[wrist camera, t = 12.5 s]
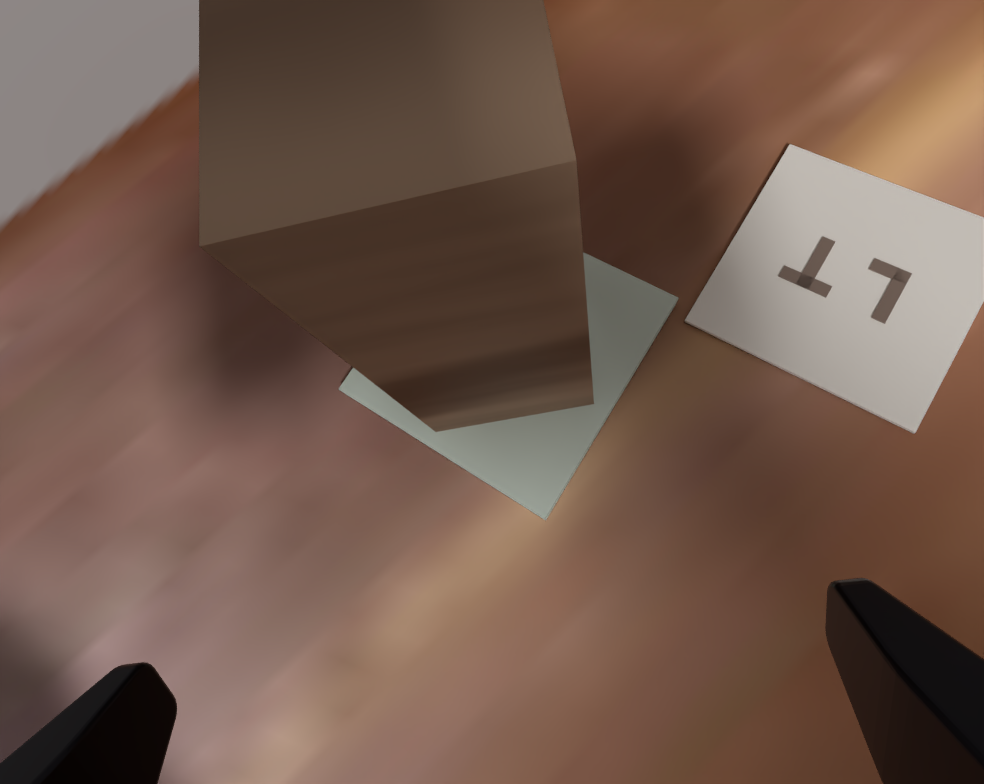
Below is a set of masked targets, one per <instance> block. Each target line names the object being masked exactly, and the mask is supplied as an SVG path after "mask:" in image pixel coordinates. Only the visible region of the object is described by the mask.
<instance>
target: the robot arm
mask: <svg viewBox="0 0 984 784" xmlns="http://www.w3.org/2000/svg"><path fill="white" fill-rule="evenodd" d="M826 636H827V641H828V644H829V648H830V650H831V653H832V656H833V658H834V661H835V663H836V666H837V668H838V671H839V673H840V676H841V679H842V681H843V684H844V686H845V689H846V691H847V694H848V697H849V699H850V702H851V704H852V707H853V709H854V712H855V714H856V717H857V720H858V722H859V725H860V727H861V730H862V732H863V735H864V738H865V740H866V743H867V745H868V748H869V750H870V753H871V755H872V758H873V760H874V763H875V765H876V768H877V770H878V773H879V775H880V777H881V780H882V782H883V784H984V659H983V658H981V657H980V656H978V655H977V654H976V653H974V652H973V651H971V650H970V649H968V648H967V647H966V646H964V645H963V644H961V643H960V642H958V641H957V640H955V639H954V638H953V637H951V636H950V635H948V634H947V633H945V632H944V631H943V630H941V629H940V628H938V627H937V626H935V625H934V624H933V623H931V622H930V621H928V620H927V619H925V618H924V617H923V616H921V615H920V614H918V613H917V612H915V611H914V610H913V609H911V608H910V607H908V606H907V605H905V604H904V603H903V602H901V601H900V600H898V599H897V598H895V597H894V596H892V595H891V594H890V593H888V592H887V591H885V590H884V589H882V588H881V587H880V586H878V585H877V584H875V583H874V582H872V581H870V580H868V579H865V578H855V579H847V580H838V581H833V582H831V583H830V585H829V586H828V591H827V608H826ZM176 715H177V703H176V699H175V697H174V695H173V694H172V692H171V691H170V690H169V688H168V687H167V685H166V684H165V682H164V681H163V680H162V678H161V677H160V675H159V674H158V672H157V671H156V670H155V668H154V667H153V666H152V665H151V664H148V663H144V662H142V663H134V664H125V665H121V666H118V667H116V668H114V669H113V670H112V671H110V672H109V673H108V674H107V675H106V676H104V677H103V678H102V679H101V680H100V681H98V682H97V683H96V684H95V685H94V686H92V687H91V688H90V689H89V690H88V691H86V692H85V693H84V694H83V695H82V696H80V697H79V698H78V699H77V700H76V701H74V702H73V703H72V704H71V705H70V706H68V707H67V708H66V709H65V710H64V711H62V712H61V713H60V714H59V715H58V716H56V717H55V718H54V719H53V720H52V721H50V722H49V723H48V724H47V725H46V726H44V727H43V728H42V729H41V730H40V731H38V732H37V733H36V734H35V735H34V736H32V737H31V738H30V739H29V740H28V741H26V742H25V743H24V744H23V745H22V746H21V747H19V748H18V749H17V750H16V751H15V752H13V753H12V754H11V755H10V756H9V757H7V758H6V759H5V760H4V761H3V762H1V763H0V784H157V783H158V780H159V776H160V773H161V769H162V766H163V762H164V758H165V755H166V751H167V748H168V744H169V741H170V737H171V733H172V730H173V726H174V723H175V719H176Z"/></svg>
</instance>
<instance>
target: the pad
mask: <svg viewBox="0 0 984 784" xmlns="http://www.w3.org/2000/svg"><path fill="white" fill-rule="evenodd" d="M583 257H584V271H585V285H586V299H587V313H588V327H589V341H590V355H591V369H592V383H593V397H594V404H591V405H586V406H580V407H574V408H569V409H563V410H558V411H552V412H546V413H541V414H535V415H529V416H524V417H518V418H512V419H507V420H501V421H495V422H490V423H484V424H479V425H473V426H467V427H462V428H456V429H450V430H445V431H439V432H435V431H434V430H432V429H431V428H430V427H429V426H427V425H426V424H425V423H423V422H422V421H421V420H420V419H418V418H417V417H416V416H415V415H413V414H412V413H411V412H409V411H408V410H407V409H406V408H404V407H403V406H402V405H401V404H399V403H398V402H397V401H395V400H394V399H393V398H392V397H390V396H389V395H388V394H387V393H385V392H384V391H383V390H381V389H380V388H379V387H378V386H376V385H375V384H374V383H373V382H371V381H370V380H369V379H367V378H366V377H365V376H364V375H362V374H361V373H360V372H359V371H357V370H356V369H355V368H352V370H351V371H350V373H349V374H348V376H347V377H346V379H345V380H344V382H343V383H342V385H341V386H340V388H339V390H340V391H342V392H343V393H345V394H346V395H348V396H350V397H351V398H353V399H354V400H356V401H357V402H359V403H361V404H362V405H364V406H365V407H367V408H369V409H370V410H372V411H373V412H375V413H376V414H378V415H380V416H381V417H383V418H384V419H386V420H388V421H389V422H391V423H392V424H394V425H395V426H397V427H399V428H400V429H402V430H403V431H405V432H407V433H408V434H410V435H411V436H413V437H414V438H416V439H418V440H419V441H421V442H422V443H424V444H426V445H427V446H429V447H430V448H432V449H433V450H435V451H437V452H438V453H440V454H441V455H443V456H445V457H446V458H448V459H449V460H451V461H452V462H454V463H456V464H457V465H459V466H460V467H462V468H464V469H465V470H467V471H468V472H470V473H471V474H473V475H475V476H476V477H478V478H479V479H481V480H483V481H484V482H486V483H487V484H489V485H490V486H492V487H494V488H495V489H497V490H498V491H500V492H502V493H503V494H505V495H506V496H508V497H509V498H511V499H513V500H514V501H516V502H517V503H519V504H521V505H522V506H524V507H525V508H527V509H528V510H530V511H532V512H533V513H535V514H536V515H538V516H540V517H541V518H543V519H544V520H547V518H548V516H549V515H550V513H551V511H552V510H553V508H554V506H555V505H556V503H557V501H558V500H559V498H560V496H561V495H562V493H563V491H564V490H565V488H566V486H567V485H568V483H569V481H570V480H571V478H572V476H573V475H574V473H575V471H576V470H577V468H578V466H579V465H580V463H581V461H582V460H583V458H584V456H585V455H586V453H587V451H588V450H589V448H590V446H591V445H592V443H593V441H594V440H595V438H596V436H597V435H598V433H599V431H600V430H601V428H602V426H603V425H604V423H605V421H606V420H607V418H608V416H609V415H610V413H611V411H612V410H613V408H614V406H615V405H616V403H617V401H618V400H619V398H620V396H621V395H622V393H623V391H624V390H625V388H626V386H627V385H628V383H629V381H630V380H631V378H632V376H633V375H634V373H635V371H636V370H637V368H638V366H639V365H640V363H641V361H642V360H643V358H644V356H645V355H646V353H647V352H648V350H649V348H650V347H651V345H652V343H653V342H654V340H655V338H656V337H657V335H658V333H659V332H660V330H661V328H662V327H663V325H664V323H665V322H666V320H667V318H668V317H669V315H670V313H671V312H672V310H673V308H674V307H675V305H676V303H677V302H678V297H676V296H674V295H672V294H670V293H668V292H666V291H663V290H661V289H659V288H657V287H655V286H653V285H651V284H649V283H647V282H645V281H643V280H640V279H638V278H636V277H634V276H632V275H630V274H628V273H626V272H624V271H622V270H620V269H617V268H615V267H613V266H611V265H609V264H607V263H605V262H603V261H601V260H599V259H596V258H594V257H592V256H590V255H588V254H586V253H584V252H583Z"/></svg>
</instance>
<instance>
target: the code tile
mask: <svg viewBox="0 0 984 784" xmlns="http://www.w3.org/2000/svg"><path fill="white" fill-rule="evenodd" d="M983 302H984V218H983V217H981V216H978V215H975V214H973V213H970V212H968V211H965V210H962V209H960V208H957V207H954V206H952V205H949V204H946V203H944V202H941V201H939V200H936V199H933V198H931V197H928V196H925V195H923V194H920V193H917V192H915V191H912V190H910V189H907V188H904V187H902V186H899V185H896V184H894V183H891V182H888V181H886V180H883V179H881V178H878V177H875V176H873V175H870V174H867V173H865V172H862V171H859V170H857V169H854V168H852V167H849V166H846V165H844V164H841V163H838V162H836V161H833V160H830V159H828V158H825V157H823V156H820V155H817V154H815V153H812V152H809V151H807V150H804V149H802V148H799V147H796V146H794V145H791V144H790V145H789V146H788V148H787V150H786V151H785V153H784V155H783V156H782V158H781V160H780V161H779V163H778V165H777V166H776V168H775V170H774V171H773V173H772V175H771V176H770V178H769V180H768V181H767V183H766V185H765V186H764V188H763V190H762V192H761V193H760V195H759V197H758V198H757V200H756V202H755V203H754V205H753V207H752V208H751V210H750V212H749V213H748V215H747V217H746V218H745V220H744V222H743V223H742V225H741V227H740V228H739V230H738V232H737V233H736V235H735V237H734V238H733V240H732V242H731V244H730V245H729V247H728V249H727V250H726V252H725V254H724V255H723V257H722V259H721V260H720V262H719V264H718V265H717V267H716V269H715V270H714V272H713V274H712V275H711V277H710V279H709V280H708V282H707V284H706V285H705V287H704V289H703V290H702V292H701V294H700V296H699V297H698V299H697V301H696V302H695V304H694V306H693V307H692V309H691V311H690V312H689V314H688V316H687V317H686V319H685V321H684V322H686V323H688V324H690V325H692V326H694V327H696V328H698V329H700V330H702V331H704V332H706V333H708V334H711V335H713V336H715V337H717V338H719V339H721V340H723V341H725V342H727V343H729V344H731V345H733V346H735V347H737V348H739V349H741V350H743V351H745V352H747V353H749V354H751V355H754V356H756V357H758V358H760V359H762V360H764V361H766V362H768V363H770V364H772V365H774V366H776V367H778V368H780V369H782V370H784V371H786V372H788V373H790V374H792V375H794V376H797V377H799V378H801V379H803V380H805V381H807V382H809V383H811V384H813V385H815V386H817V387H819V388H821V389H823V390H825V391H827V392H829V393H831V394H833V395H835V396H837V397H840V398H842V399H844V400H846V401H848V402H850V403H852V404H854V405H856V406H858V407H860V408H862V409H864V410H866V411H868V412H870V413H872V414H874V415H876V416H878V417H880V418H883V419H885V420H887V421H889V422H891V423H893V424H895V425H897V426H899V427H901V428H903V429H905V430H907V431H909V432H911V433H913V434H914V433H916V431H917V429H918V427H919V425H920V423H921V421H922V419H923V417H924V415H925V413H926V412H927V410H928V408H929V406H930V404H931V402H932V400H933V398H934V396H935V394H936V392H937V390H938V388H939V386H940V385H941V383H942V381H943V379H944V377H945V375H946V373H947V371H948V369H949V367H950V365H951V363H952V361H953V359H954V358H955V356H956V354H957V352H958V350H959V348H960V346H961V344H962V342H963V340H964V338H965V336H966V334H967V333H968V331H969V329H970V327H971V325H972V323H973V321H974V319H975V317H976V315H977V313H978V311H979V309H980V307H981V306H982V304H983Z"/></svg>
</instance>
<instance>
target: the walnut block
mask: <svg viewBox="0 0 984 784" xmlns="http://www.w3.org/2000/svg"><path fill="white" fill-rule="evenodd" d="M199 247H201V248H202V249H203V250H204V251H206V252H207V253H208V254H210V255H211V256H212V257H213V258H215V259H216V260H217V261H218V262H220V263H221V264H222V265H224V266H225V267H226V268H227V269H229V270H230V271H231V272H232V273H234V274H235V275H236V276H238V277H239V278H240V279H241V280H243V281H244V282H245V283H246V284H248V285H249V286H250V287H252V288H253V289H254V290H255V291H257V292H258V293H259V294H260V295H262V296H263V297H264V298H266V299H267V300H268V301H269V302H271V303H272V304H273V305H274V306H276V307H277V308H278V309H280V310H281V311H282V312H283V313H285V314H286V315H287V316H288V317H290V318H291V319H292V320H294V321H295V322H296V323H297V324H299V325H300V326H301V327H302V328H304V329H305V330H306V331H308V332H309V333H310V334H311V335H313V336H314V337H315V338H316V339H318V340H319V341H320V342H322V343H323V344H324V345H325V346H327V347H328V348H329V349H331V350H332V351H333V352H334V353H336V354H337V355H338V356H339V357H341V358H342V359H343V360H345V361H346V362H347V363H348V364H350V365H351V366H352V367H353V368H355V369H356V370H357V371H359V372H360V373H361V374H362V375H364V376H365V377H366V378H367V379H369V380H370V381H371V382H373V383H374V384H375V385H376V386H378V387H379V388H380V389H381V390H383V391H384V392H385V393H387V394H388V395H389V396H390V397H392V398H393V399H394V400H395V401H397V402H398V403H399V404H401V405H402V406H403V407H404V408H406V409H407V410H408V411H409V412H411V413H412V414H413V415H415V416H416V417H417V418H418V419H420V420H421V421H422V422H423V423H425V424H426V425H427V426H429V427H430V428H431V429H432V430H434V431H435V432H439V431H445V430H450V429H456V428H462V427H467V426H473V425H479V424H484V423H490V422H495V421H501V420H507V419H512V418H518V417H524V416H529V415H535V414H541V413H546V412H552V411H558V410H563V409H569V408H574V407H580V406H586V405H591V404H594V397H593V383H592V369H591V355H590V341H589V327H588V313H587V299H586V285H585V271H584V257H583V243H582V229H581V215H580V201H579V187H578V173H577V160H576V155H575V150H574V145H573V141H572V136H571V131H570V126H569V122H568V117H567V112H566V107H565V102H564V98H563V93H562V88H561V83H560V78H559V74H558V69H557V64H556V59H555V54H554V50H553V45H552V40H551V35H550V31H549V26H548V21H547V16H546V11H545V7H544V2H543V0H199Z"/></svg>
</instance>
